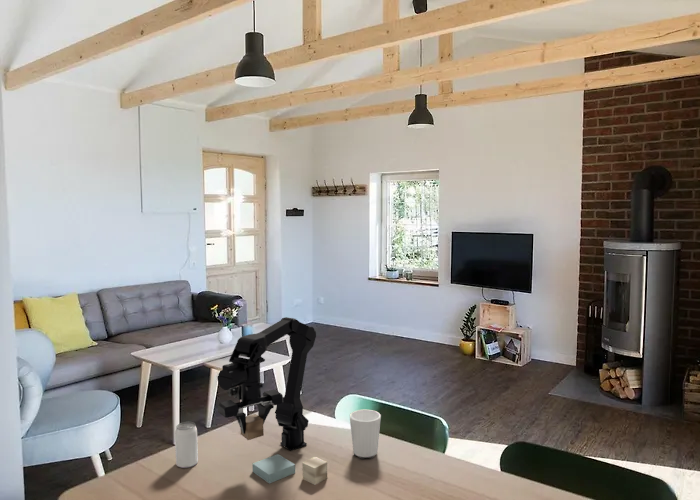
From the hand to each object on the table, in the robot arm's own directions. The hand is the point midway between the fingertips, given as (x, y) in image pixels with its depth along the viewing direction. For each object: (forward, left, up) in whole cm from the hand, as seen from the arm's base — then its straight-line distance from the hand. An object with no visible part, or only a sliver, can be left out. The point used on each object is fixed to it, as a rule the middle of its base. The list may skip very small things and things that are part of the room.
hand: (252, 430), depth 160 cm
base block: (-4, +6, -12) cm, 14 cm away
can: (+14, -16, -12) cm, 24 cm away
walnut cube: (0, 0, -1) cm, 1 cm away
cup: (-32, +14, -12) cm, 37 cm away
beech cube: (-11, +16, -12) cm, 23 cm away
